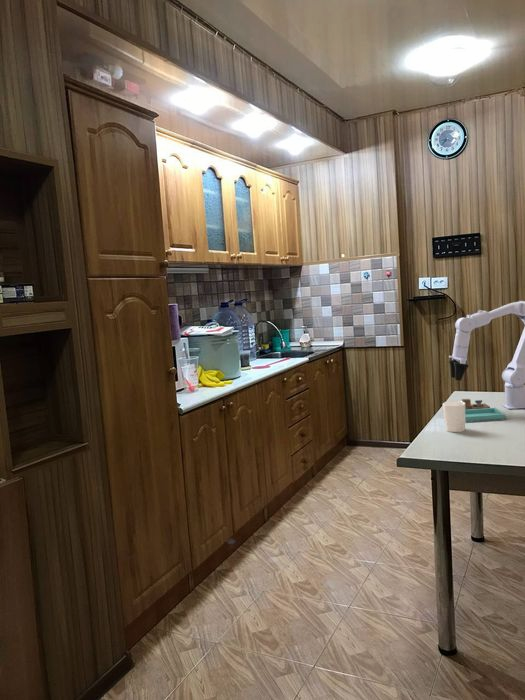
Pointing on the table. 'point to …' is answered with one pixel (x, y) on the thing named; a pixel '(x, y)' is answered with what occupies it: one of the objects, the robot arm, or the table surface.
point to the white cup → (454, 416)
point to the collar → (473, 405)
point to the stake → (478, 403)
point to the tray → (483, 414)
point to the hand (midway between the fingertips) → (455, 379)
